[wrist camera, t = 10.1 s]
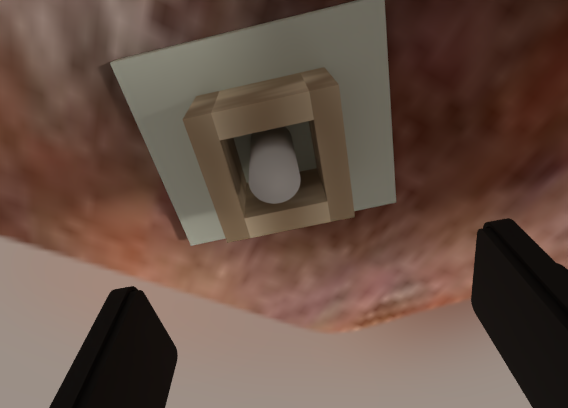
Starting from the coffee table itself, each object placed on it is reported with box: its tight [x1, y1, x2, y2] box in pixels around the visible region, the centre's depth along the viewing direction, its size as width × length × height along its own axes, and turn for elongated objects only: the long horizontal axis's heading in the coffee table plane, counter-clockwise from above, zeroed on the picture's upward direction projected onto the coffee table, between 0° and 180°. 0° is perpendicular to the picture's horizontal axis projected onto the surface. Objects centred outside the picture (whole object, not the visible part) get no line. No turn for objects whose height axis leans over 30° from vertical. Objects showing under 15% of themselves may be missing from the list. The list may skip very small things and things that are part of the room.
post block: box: [110, 0, 396, 246], centre depth 19 cm, size 14×12×6 cm
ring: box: [182, 67, 355, 243], centre depth 19 cm, size 7×7×4 cm
